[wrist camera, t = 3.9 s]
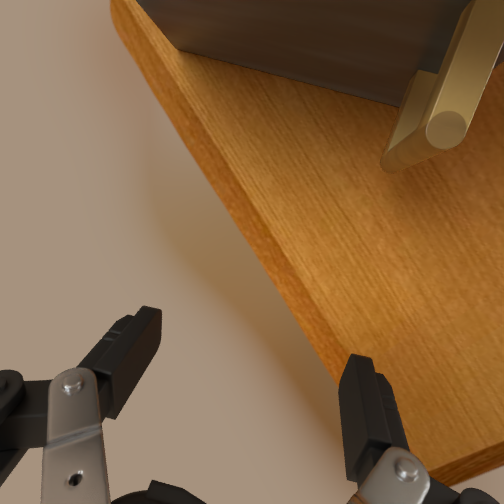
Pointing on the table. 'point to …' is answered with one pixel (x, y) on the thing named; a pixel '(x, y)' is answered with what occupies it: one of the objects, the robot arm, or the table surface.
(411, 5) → the door
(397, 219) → the table surface
